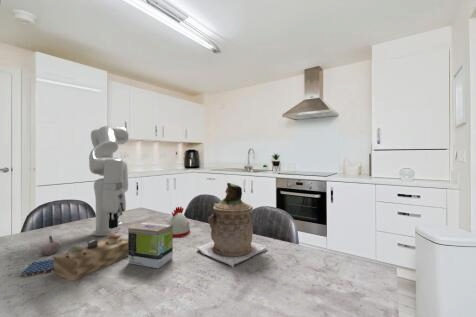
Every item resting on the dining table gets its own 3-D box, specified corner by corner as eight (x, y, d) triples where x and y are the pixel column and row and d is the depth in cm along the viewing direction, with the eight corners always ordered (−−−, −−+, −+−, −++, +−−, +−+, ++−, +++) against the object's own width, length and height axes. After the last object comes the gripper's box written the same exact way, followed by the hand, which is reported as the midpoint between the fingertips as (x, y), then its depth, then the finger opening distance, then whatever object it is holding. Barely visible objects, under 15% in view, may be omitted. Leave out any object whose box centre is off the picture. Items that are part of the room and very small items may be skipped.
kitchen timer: (195, 231, 129) (194, 206, 129) (176, 239, 117) (176, 210, 117) (178, 227, 136) (178, 203, 136) (159, 234, 125) (159, 207, 125)
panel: (114, 249, 104) (114, 236, 104) (131, 254, 98) (131, 240, 98) (53, 273, 82) (53, 257, 82) (71, 280, 77) (71, 263, 77)
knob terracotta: (115, 249, 100) (115, 232, 100) (122, 251, 98) (122, 234, 98) (104, 254, 96) (104, 236, 96) (111, 256, 94) (111, 237, 94)
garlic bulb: (48, 257, 96) (48, 238, 96) (35, 255, 97) (35, 237, 97) (65, 250, 103) (65, 233, 103) (52, 248, 105) (52, 232, 105)
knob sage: (79, 264, 87) (79, 244, 87) (86, 266, 85) (86, 246, 85) (65, 269, 82) (65, 248, 82) (72, 272, 80) (72, 251, 80)
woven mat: (31, 266, 88) (31, 261, 88) (64, 261, 93) (64, 256, 93) (17, 279, 79) (17, 273, 79) (54, 273, 83) (54, 268, 83)
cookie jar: (269, 250, 102) (268, 181, 103) (231, 269, 85) (231, 186, 85) (231, 237, 119) (231, 178, 120) (193, 251, 101) (193, 182, 102)
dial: (91, 245, 93) (91, 238, 93) (99, 245, 93) (99, 239, 93) (85, 248, 90) (85, 242, 90) (93, 249, 89) (93, 242, 89)
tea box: (173, 258, 94) (173, 224, 94) (157, 269, 84) (157, 231, 85) (145, 253, 99) (145, 220, 99) (127, 263, 89) (127, 227, 89)
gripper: (132, 186, 97) (132, 227, 98) (110, 184, 104) (110, 222, 104) (116, 189, 91) (116, 233, 91) (94, 186, 97) (94, 227, 98)
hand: (113, 227), depth 98 cm, fingers closed
